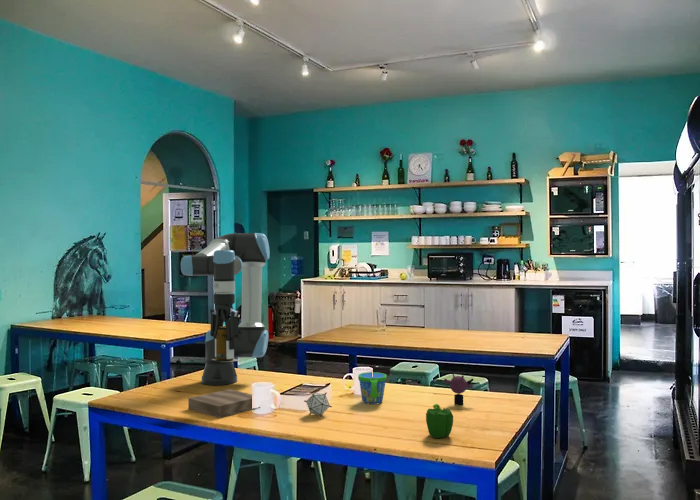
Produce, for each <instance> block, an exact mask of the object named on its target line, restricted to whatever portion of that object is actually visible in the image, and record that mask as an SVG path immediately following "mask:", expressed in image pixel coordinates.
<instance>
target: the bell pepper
mask: <svg viewBox="0 0 700 500" xmlns="http://www.w3.org/2000/svg"><path fill="white" fill-rule="evenodd" d="M432 407H433V408H428V409H427V410H426V413H425V421H426V426H427V430H428V434H429V435H430V437H432V438H434V439H442V438H448V437H449V436H450V434H451V433H452V428H453V425H454V415H453V413H452V411H451V409H450V408H444V409H442V408H441V405H440V404H438V403H434V404H433V405H432Z"/></svg>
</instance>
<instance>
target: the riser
mask: <svg viewBox="0 0 700 500" xmlns="http://www.w3.org/2000/svg"><path fill="white" fill-rule="evenodd" d="M252 395H253V394H251V393H246V392H242V391H238V390H235V389H230V388H228V389H224V390H219V391H215V392H210V393H205V394H200V395H196V396H192V397H191V396H190V397H188V398H187V399H188V404H187V405H188V410H189V411H193V412H197V413H200V414H204V415H206V416H210V417H214V418H217V419H221V418H226V417H229V416H233V415H237V414H241V413H245V412H248V411H249V412H250V411H252V410H251V409H252Z"/></svg>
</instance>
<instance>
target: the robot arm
mask: <svg viewBox="0 0 700 500" xmlns="http://www.w3.org/2000/svg"><path fill="white" fill-rule="evenodd" d="M267 237H268V236H266V234H264V233H261V232H244V233H242V232H240V233H239V232H238V233H236V232H235V233H234V232H233V233H227V234H223V235H220V236H218V237H216V238H214V239H212V240H211V241H210V242H209V244H208V245H207V246H206V247H205V248H203V249H202V250H200V251H199V252H198V253H196V254H194V255H184V256H182V258H181V260H180V272H181V274H182V275H183V276H191V277H193V276H195V277H196V276H197V277H199V276H201V277H202V276H213V292H214V294H213V305H215V308H211V309H210V311H209V312H210V329H209V330H207V331H206V333H205V340H204V343H205V366H204V369H203V373H202V376H201V384H203V385H206V386H207V385H208V386H225V385H231V384H234V383H237V382H238V374H237V371H236V369H235V364H234V361H232V362H219V361H214V360H212V359H217V358H216V335H217V334H218V332H217V331H218V329H217V328H218V327H219V326H226V331H227V336H228V339H227V341H226V359H232V358H233V359H237V358H238V359H239V358H243V359H244V358H247V359H248V358H251V359H254V358H262V357H264V356H265V355H266V352H267V349H268V343H269V331H268V330H267V329H266V328H265V327H266V326H265V325H264V323H262V305H263V304H262V303H263V301H262V299H263V297H262V296H263V294H262V290H263V289H262V288H263V267H264V266H265V265H266V264H267V260H270V253H271V252H270V244H269V240H268V238H267ZM241 272H242V273H241ZM239 273H241V276H242V279H241V317H240V318H241V320H240V321H241V322H240V323H239V314H240V312H239V310H235V309H234V307H233V305H234V304H235V303H236V294H235V292H236V279H235V277H236V275H239Z"/></svg>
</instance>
